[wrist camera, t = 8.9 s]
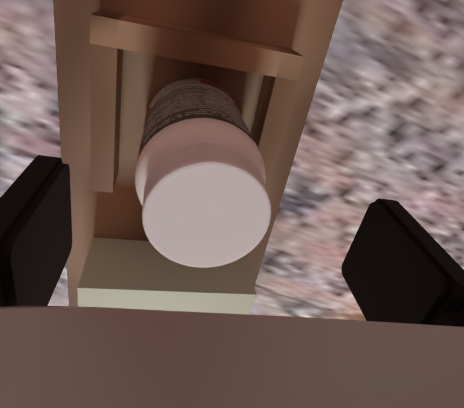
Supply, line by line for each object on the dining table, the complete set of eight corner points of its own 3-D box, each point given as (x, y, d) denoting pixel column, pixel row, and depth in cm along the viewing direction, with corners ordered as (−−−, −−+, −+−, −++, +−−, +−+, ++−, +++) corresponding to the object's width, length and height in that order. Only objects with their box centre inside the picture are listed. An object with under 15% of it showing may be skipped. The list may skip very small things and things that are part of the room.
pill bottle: (125, 105, 17) (90, 196, 10) (213, 57, 16) (243, 117, 9) (177, 181, 19) (178, 296, 12) (255, 142, 19) (302, 239, 12)
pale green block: (243, 247, 22) (256, 294, 19) (221, 331, 26) (228, 382, 23) (92, 237, 20) (77, 287, 17) (93, 329, 24) (80, 385, 21)
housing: (329, -12, 17) (367, -9, 14) (232, 322, 29) (240, 367, 26) (62, -78, 15) (30, -94, 11) (77, 319, 27) (63, 368, 23)
